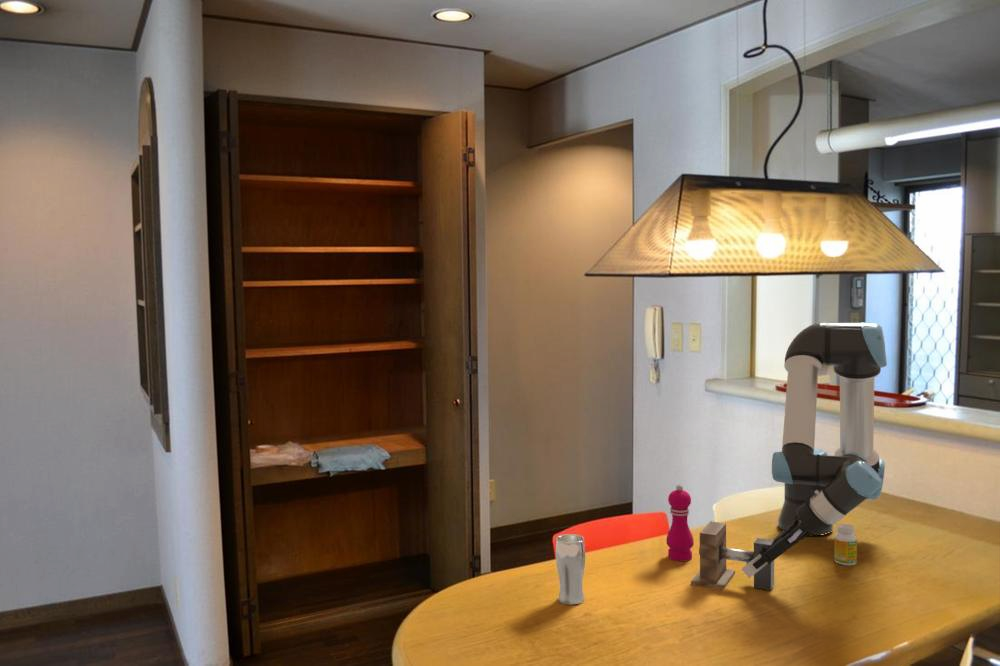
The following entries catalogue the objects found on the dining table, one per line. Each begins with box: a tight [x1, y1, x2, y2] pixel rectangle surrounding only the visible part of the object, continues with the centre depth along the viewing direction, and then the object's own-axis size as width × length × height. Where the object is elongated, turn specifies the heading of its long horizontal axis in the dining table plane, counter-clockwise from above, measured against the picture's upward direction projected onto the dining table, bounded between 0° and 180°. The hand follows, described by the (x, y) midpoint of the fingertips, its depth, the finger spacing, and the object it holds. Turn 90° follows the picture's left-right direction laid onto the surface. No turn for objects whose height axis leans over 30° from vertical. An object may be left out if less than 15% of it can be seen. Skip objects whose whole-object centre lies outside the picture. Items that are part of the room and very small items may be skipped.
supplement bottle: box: [833, 523, 858, 566], centre depth 205 cm, size 5×5×10 cm
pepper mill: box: [665, 484, 694, 562], centre depth 212 cm, size 7×7×20 cm
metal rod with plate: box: [698, 537, 775, 591], centre depth 194 cm, size 18×4×11 cm, turn 60°
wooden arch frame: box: [690, 520, 736, 591], centre depth 196 cm, size 8×12×13 cm, turn 150°
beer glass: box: [555, 533, 586, 606], centre depth 186 cm, size 7×7×15 cm
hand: (748, 569), depth 192 cm, fingers closed on metal rod with plate, 4 cm apart
